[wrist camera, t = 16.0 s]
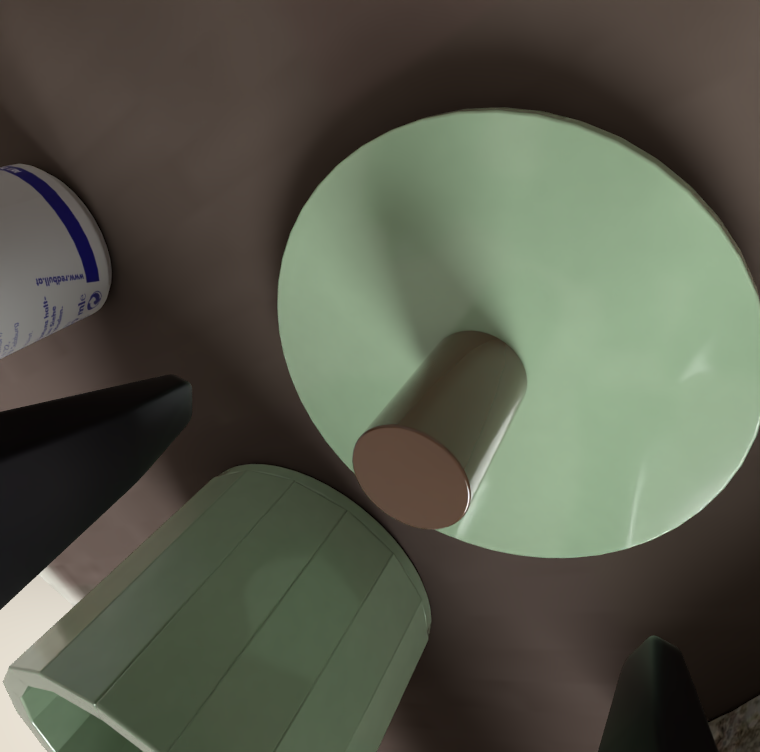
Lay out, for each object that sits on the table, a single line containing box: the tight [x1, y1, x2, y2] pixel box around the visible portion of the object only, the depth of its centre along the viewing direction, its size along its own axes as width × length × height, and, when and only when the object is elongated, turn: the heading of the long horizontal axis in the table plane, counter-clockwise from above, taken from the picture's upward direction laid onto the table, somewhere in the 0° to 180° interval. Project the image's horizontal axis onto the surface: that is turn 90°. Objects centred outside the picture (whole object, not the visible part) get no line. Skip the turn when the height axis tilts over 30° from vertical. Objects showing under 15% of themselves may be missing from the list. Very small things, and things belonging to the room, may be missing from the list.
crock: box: [3, 464, 431, 752], centre depth 20 cm, size 11×11×9 cm
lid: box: [277, 107, 760, 558], centre depth 12 cm, size 12×12×5 cm
